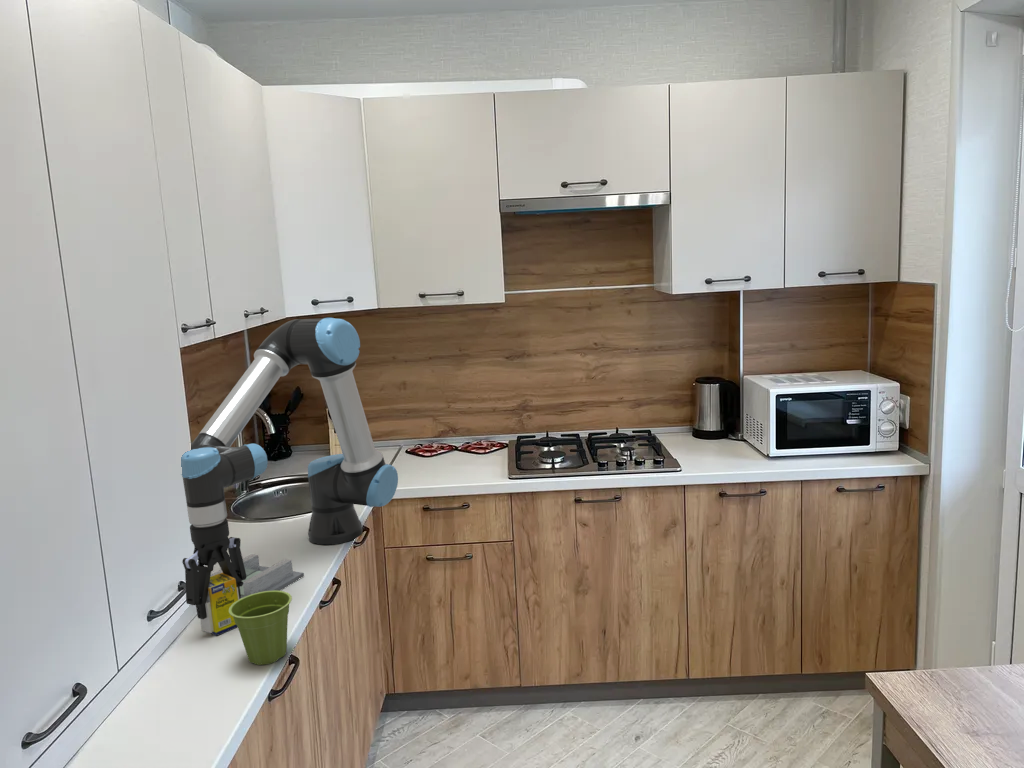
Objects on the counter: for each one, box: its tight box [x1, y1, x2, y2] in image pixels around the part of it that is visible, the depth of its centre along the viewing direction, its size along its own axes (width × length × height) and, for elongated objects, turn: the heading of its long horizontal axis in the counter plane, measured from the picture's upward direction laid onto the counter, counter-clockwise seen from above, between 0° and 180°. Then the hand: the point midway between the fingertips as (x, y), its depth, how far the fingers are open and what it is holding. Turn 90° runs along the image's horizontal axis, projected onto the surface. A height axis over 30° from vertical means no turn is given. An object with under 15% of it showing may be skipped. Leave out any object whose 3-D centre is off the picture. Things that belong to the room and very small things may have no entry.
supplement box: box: [200, 573, 238, 636], centre depth 160 cm, size 6×6×11 cm
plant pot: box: [229, 590, 293, 666], centre depth 146 cm, size 12×12×11 cm
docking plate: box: [210, 553, 305, 599], centre depth 180 cm, size 18×16×5 cm
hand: (222, 622), depth 161 cm, fingers closed on supplement box, 7 cm apart
